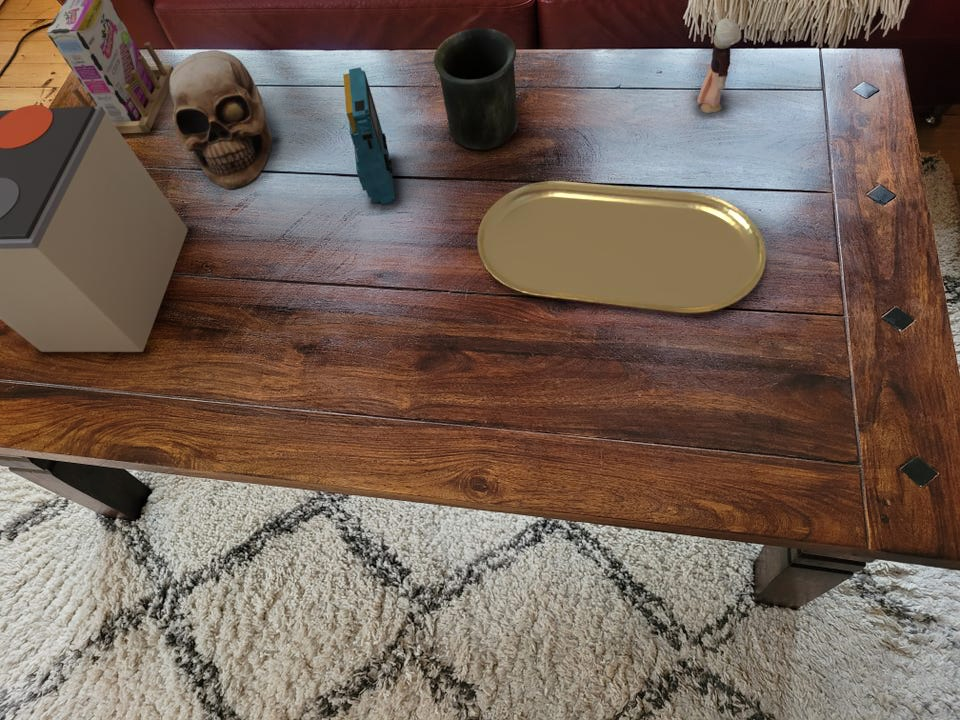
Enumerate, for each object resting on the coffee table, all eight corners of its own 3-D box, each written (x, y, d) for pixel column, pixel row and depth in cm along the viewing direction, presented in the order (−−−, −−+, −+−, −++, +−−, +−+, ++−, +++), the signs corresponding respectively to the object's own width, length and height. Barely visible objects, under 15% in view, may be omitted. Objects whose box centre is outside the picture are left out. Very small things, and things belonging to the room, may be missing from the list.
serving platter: (761, 330, 77) (764, 322, 76) (463, 293, 85) (461, 286, 83) (764, 207, 86) (768, 198, 85) (495, 183, 94) (494, 175, 92)
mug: (442, 154, 98) (427, 82, 87) (455, 87, 105) (443, 13, 95) (517, 154, 96) (511, 81, 86) (526, 86, 103) (521, 11, 93)
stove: (41, 352, 87) (-99, 241, 69) (96, 231, 97) (-14, 107, 79) (143, 352, 85) (27, 238, 67) (188, 229, 96) (98, 101, 77)
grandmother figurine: (690, 89, 99) (705, 6, 88) (717, 85, 99) (735, 1, 88) (702, 125, 95) (719, 42, 84) (730, 121, 95) (751, 38, 84)
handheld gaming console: (398, 204, 94) (371, 114, 81) (369, 210, 94) (337, 121, 81) (392, 155, 99) (366, 64, 86) (364, 160, 99) (334, 70, 86)
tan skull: (235, 195, 98) (187, 114, 87) (167, 161, 106) (116, 83, 95) (312, 133, 104) (276, 49, 93) (243, 105, 112) (202, 26, 101)
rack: (92, 134, 109) (64, 98, 103) (122, 75, 116) (98, 38, 110) (149, 132, 107) (125, 95, 101) (176, 72, 115) (154, 34, 109)
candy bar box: (139, 125, 109) (76, 30, 95) (110, 127, 109) (43, 33, 95) (159, 79, 114) (102, -17, 100) (131, 81, 115) (70, -14, 101)
